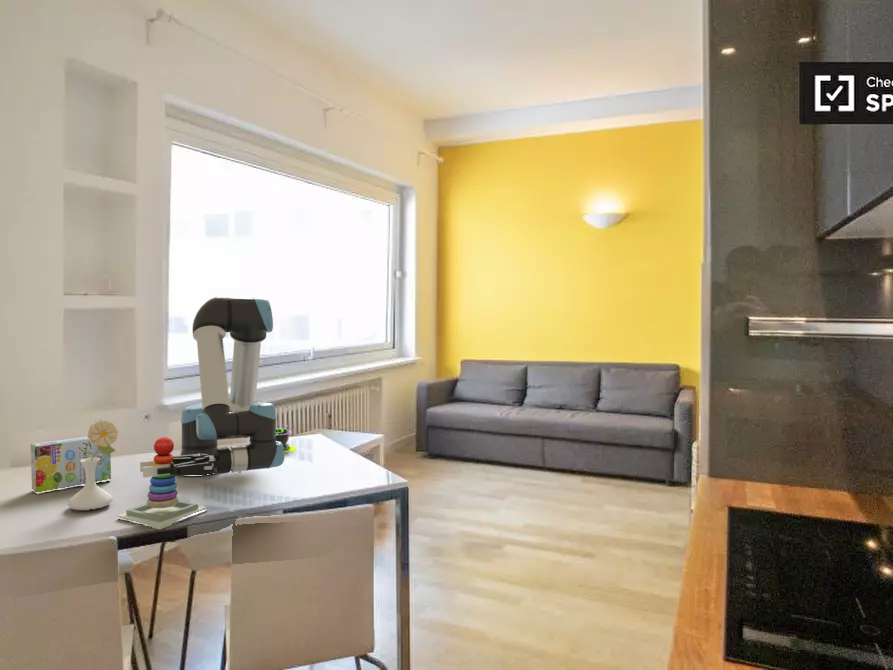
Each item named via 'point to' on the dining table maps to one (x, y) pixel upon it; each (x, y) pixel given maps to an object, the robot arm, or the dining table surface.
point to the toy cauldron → (284, 439)
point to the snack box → (65, 463)
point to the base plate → (161, 514)
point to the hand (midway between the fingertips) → (142, 469)
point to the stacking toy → (163, 477)
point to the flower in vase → (91, 493)
